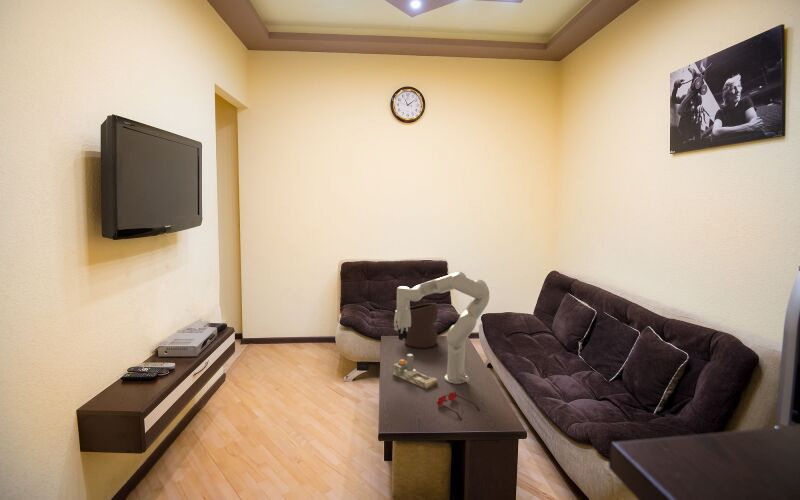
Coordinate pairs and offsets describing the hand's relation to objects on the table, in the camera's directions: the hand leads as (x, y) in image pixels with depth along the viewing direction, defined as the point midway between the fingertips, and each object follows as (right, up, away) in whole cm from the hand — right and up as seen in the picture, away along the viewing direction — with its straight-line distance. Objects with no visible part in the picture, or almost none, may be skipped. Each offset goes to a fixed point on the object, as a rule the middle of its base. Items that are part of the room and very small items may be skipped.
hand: (402, 338), depth 235 cm
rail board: (+7, -22, -5) cm, 23 cm away
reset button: (0, -16, +2) cm, 16 cm away
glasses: (+27, -26, -38) cm, 53 cm away
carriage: (+4, -20, -2) cm, 21 cm away
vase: (+12, -16, +58) cm, 61 cm away
